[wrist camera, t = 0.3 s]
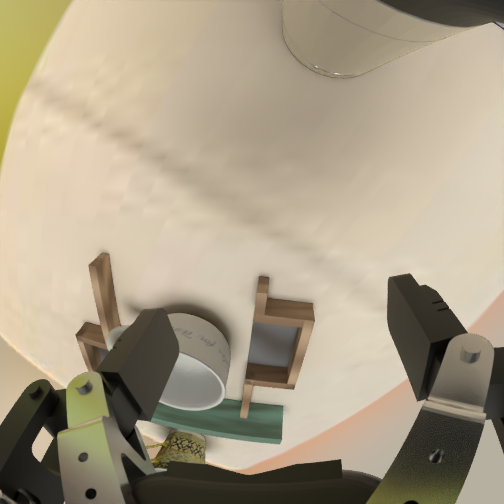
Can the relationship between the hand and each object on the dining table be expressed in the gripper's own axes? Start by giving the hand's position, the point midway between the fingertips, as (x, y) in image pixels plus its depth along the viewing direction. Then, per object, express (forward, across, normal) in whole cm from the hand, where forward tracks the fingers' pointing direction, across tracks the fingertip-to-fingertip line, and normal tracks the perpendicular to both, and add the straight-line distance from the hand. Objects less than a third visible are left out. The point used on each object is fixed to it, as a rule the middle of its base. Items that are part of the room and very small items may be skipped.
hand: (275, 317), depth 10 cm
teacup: (+19, +14, +13) cm, 27 cm away
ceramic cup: (+20, +24, +38) cm, 49 cm away
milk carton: (+17, -30, -20) cm, 40 cm away
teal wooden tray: (+19, +15, +16) cm, 29 cm away
